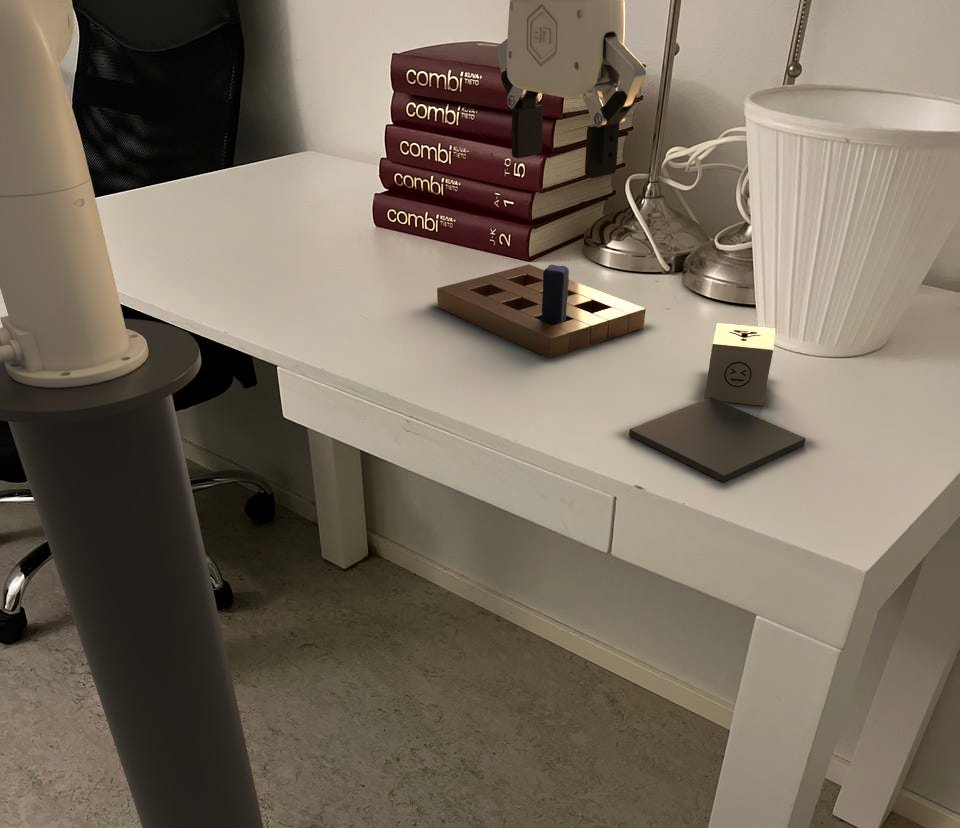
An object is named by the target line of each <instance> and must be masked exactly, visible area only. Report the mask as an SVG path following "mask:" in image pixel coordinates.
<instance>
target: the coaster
mask: <svg viewBox="0 0 960 828" xmlns="http://www.w3.org/2000/svg"><path fill="white" fill-rule="evenodd" d="M628 436H629V437H631V438H633V439H635V440H636V441H639V442H641V443H643V444H646V445H648V446H649V447H651V448H653V449H655V450H658V451H659V452H661V453H664V454H665V455H667V456H669V457H671V458H673V459H675V460H677V461H679V462H681V463H683V464H685V465H687V466H689V467H691V468H694V469H695V470H698V471H699V472H701V473H703V474H705V475H707V476H709V477H711V478H713V479H715V480H718V482H721V483H725V482H727V481H729V480H731V479H733V478H736V477H738V476H740V475H742V474H744V473H747V472H749V471H750V470H753V469H755V468H757V467H759V466H762V465H763V464H765V463H768V462H770V461H772V460H774V459H777V458H778V457H779V458H780V457H781V456H783V455H785V454H787V453H789V452H791V451H794V450H796V449H798V448H800V447H802V446H804V445H806V439H807V438H806V437H804V436H802V435H799V434H797V433H795V432H793V431H790V430H788V429H786V428H783V427H781V426H779V425H777V424H774V423H772V422H769V421H768V420H766V419H763V418H760V417H758V416H755V415H753V414H752V413H749V412H746V411H745V410H742V409H741V408H737V407H735V406H734V405H730V404H728V403H727V402H724V401H719V400H716V399H714V398H712V397H710V398H707V399H702V400H699V401H697V402H695V403H692V404H689V405H687V406H685V407H682V408H680V409H677V410H675V411H672V412H669V413H667V414H664V415H662V416H659V417H657V418H654V419H651V420H650V421H646V422H644V423H641V424H639V425H636V426H633V427H632V428H629V429H628Z"/></svg>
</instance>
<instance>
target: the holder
mask: <svg viewBox="0 0 960 828" xmlns="http://www.w3.org/2000/svg"><path fill="white" fill-rule="evenodd" d="M544 270H545V269H542V268H541V267H537V266H534V265H532V264H525V265H521V266H518V267H513V268H509V269H505V270H501V271H498V272H494V273H490V274H486V275H483V276H479V277H476V278H471V279H467V280H463V281H460V282H456V283H451V284H448V285H444V286H440V287H437V288H436V294H437V295H436V299H437V300H436V301H437V304H436V305H437V307H438V308H439V309H442V310H443V311H446V312H447V313H450V314H453V316H457V317H459V318H461V319H463V320H465V321H467V322H470V323H472V324H474V325H475V326H478V327H480V328H483V329H484V330H487V331H489V332H491V333H493V334H496V335H498V336H499V337H502V338H504V339H506V340H509V341H510V342H513V343H515V344H517V345H519V346H522V347H523V348H525V349H527V350H530V351H532V352H535V353H537V354H539V355H541V356H543V357H545V358H548V359H553V358H556V357H560V356H562V355H565V354H568V353H571V352H574V351H578V350H581V349H584V348H587V347H590V346H593V345H595V344H600V343H601V342H604V341H607V340H611V339H614V338H617V337H620V336H623V335H626V334H629V333H632V332H636V331H638V330H641V329H644V328H645V319H646V308H645V307H643V306H640V305H638V304H634V303H632V302H630V301H627V300H624V299H622V298H618V297H616V296H614V295H611V294H608V293H605V292H604V291H601V290H597V289H595V288H592V287H590V286H587V285H585V284H582V283H580V282H577V281H574V280H571V279H569V285H568V297H567V310H566V322H563V323H559V324H556V325H550V324H548V323H546V322H543V321H541V320H542V297H543V272H544Z"/></svg>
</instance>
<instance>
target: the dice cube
mask: <svg viewBox="0 0 960 828" xmlns="http://www.w3.org/2000/svg"><path fill="white" fill-rule="evenodd" d="M775 337H776V328H775V327H767V326H766V327H763V326H753V325H744V324H743V325H742V324H733V323H722V322H721V323H720V322H717V323H716V327H715V332H714V336H713V339H712V345H711V351H710V352H711V353H710V359H709V363H708V364H709V365H708V372H707V377H706V384H705V391H704V399H703V400H705V399H707V398H710V397H712V398H714V399H716V400H719V401H721V402H723V403H733V404H743V405H753V406H759V407H760V406H762V407H763V405H764V400H765V395H766V389H767V385H768V379H769V375H770V369H771V364H772V358H773V353H774V347H775V339H776V338H775Z"/></svg>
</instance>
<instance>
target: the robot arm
mask: <svg viewBox="0 0 960 828" xmlns="http://www.w3.org/2000/svg"><path fill="white" fill-rule="evenodd" d="M625 4H626V1H625V0H509V6H508V7H509V9H508V10H509V11H508V23H507V38H506V39H505V40H504V41H502V42H501V43H499V44H498V45H497V46H496V48H495V55H496V59H497V63H498V67H499V70H500V73H501V75H500V80H501V81H500V82H501V84H502V86H503V87H504V90H505V92H506V93H507V96H506V102H507V106H508V108H510V109H511V156H512V158H514V159H523V158H529V157H533V156H538V155H540V154H541V153H542V151H543V126H544V125H543V122H544V110H543V109H544V107H543V104H537V103H538V102H539V101H540V99H541V97H542V95H549V96H554V97H558V98H564V99H570V100H571V99H573V100H574V99H578V98H582V99H583V102H584V104H585V106H586V108H587V111H588V113H589V115H590V118H591V120H592V122H593V124H590V125H587V129H586V138H585V139H586V140H585V141H586V142H585V159H584V161H585V162H584V175H585V177H586V178H589V179H597V178H601V177H604V176H608V175H614V174H615V172H616V171H617V165H618V164H617V163H618V151H619V150H618V149H619V137H620V136H619V135H620V124H623V123H624V122H625V121H626V119H627V114H628V113H629V111H631V109H632V108H633V107H634V106H635V104H636V103H637V95H638V94H639V91H640V89H641V87H642V84H643V82H644V81H645V78H646V75H647V70H646V67H645V65H643V63H641V61H640V60H638V58H637V57H636V56H635V55H634V54H633V53H632V52H631V51H630V50H629V49H628V48H627V47H626V45H625V34H626V33H625V31H626V30H625V28H626V27H625V26H626V25H625V23H626V7H625V6H626V5H625ZM74 31H75V13H74V5H73V0H0V292H1V295H2V298H3V303H4V305H5V309H6V312H7V315H4V316H0V323H1V325H2V327H0V363H1V362H3V361H4V363H5V367H6V370H7V373H8V375H9V376H10V377H11V378H13V379H14V380H16V381H18V382H20V383H22V384H26V385H30V386H35V387H42V388H71V387H80V386H87V385H93V384H98V383H102V382H106V381H109V380H112V379H115V378H118V377H121V376H123V375H126V374H128V373H130V372H132V371H133V370H135V369H137V368H138V367H140V366H141V365H142V364H143V363H144V362H145V361H146V359H147V357H148V353H149V350H148V346H147V342H146V340H145V338H144V337H143V336H142V335H140V334H138V333H137V332H135V331H132V330H129V329H126V327H125V323H124V319H125V318H124V315H123V311H122V305H121V302H120V297H119V293H118V290H117V285H116V281H115V277H114V276H115V275H114V272H113V268H112V264H111V259H110V254H109V251H108V246H107V242H106V238H105V237H106V236H105V234H104V229H103V225H102V221H101V220H102V219H101V217H100V213H99V207H98V203H97V199H96V195H95V190H94V187H93V181H92V178H91V174H90V170H89V165H88V162H87V161H88V160H87V157H86V154H85V149H84V144H83V141H82V137H81V133H80V129H79V127H78V123H77V120H76V117H75V114H74V110H73V107H72V103H71V100H70V97H69V94H68V91H67V88H66V84H65V80H64V78H63V74H62V71H61V66H60V63H61V62H62V60H63V59H64V58H65V57H66V55H67V53H68V51H69V49H70V47H71V45H72V41H73V37H74V36H73V35H74ZM601 98H603V100H604V102H605V104H603V101H602V99H601Z"/></svg>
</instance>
